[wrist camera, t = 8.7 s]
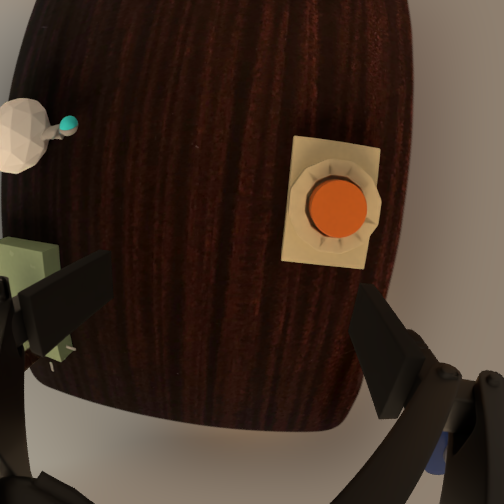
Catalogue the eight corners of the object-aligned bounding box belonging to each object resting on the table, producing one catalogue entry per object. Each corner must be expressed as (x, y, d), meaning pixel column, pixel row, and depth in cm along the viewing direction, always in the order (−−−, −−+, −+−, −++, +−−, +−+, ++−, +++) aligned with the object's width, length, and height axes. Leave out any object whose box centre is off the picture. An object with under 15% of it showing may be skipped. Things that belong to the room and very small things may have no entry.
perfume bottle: (1, 96, 21) (83, 67, 21) (22, 151, 27) (100, 135, 28) (-40, 132, 16) (43, 99, 17) (-10, 193, 23) (71, 180, 23)
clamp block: (95, 369, 33) (83, 383, 30) (27, 343, 34) (14, 353, 31) (79, 248, 29) (61, 256, 26) (8, 236, 29) (-9, 242, 26)
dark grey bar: (54, 327, 28) (3, 368, 19) (61, 339, 29) (12, 382, 20) (30, 336, 29) (-15, 373, 20) (36, 347, 30) (-8, 385, 21)
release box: (357, 261, 26) (369, 276, 22) (281, 253, 27) (281, 267, 23) (372, 150, 24) (388, 147, 20) (292, 138, 24) (295, 132, 20)
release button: (356, 235, 22) (363, 241, 20) (305, 229, 22) (307, 234, 21) (364, 183, 21) (370, 184, 19) (311, 175, 21) (314, 176, 20)
